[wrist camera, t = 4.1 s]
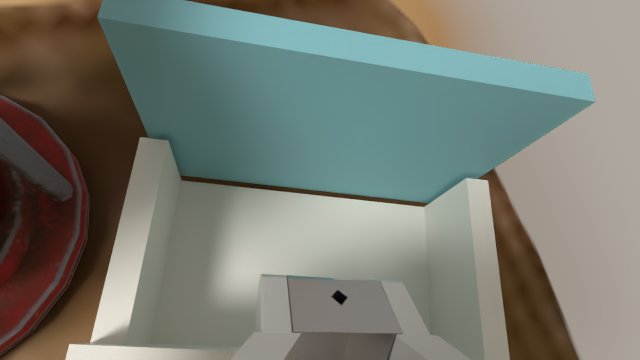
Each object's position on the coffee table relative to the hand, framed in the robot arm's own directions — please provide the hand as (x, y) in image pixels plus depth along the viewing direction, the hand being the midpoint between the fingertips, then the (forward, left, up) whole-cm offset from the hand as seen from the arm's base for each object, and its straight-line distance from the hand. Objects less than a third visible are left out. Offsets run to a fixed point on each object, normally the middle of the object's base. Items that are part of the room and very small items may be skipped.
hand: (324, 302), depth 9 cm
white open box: (+3, -2, -15) cm, 16 cm away
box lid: (+8, -2, -13) cm, 15 cm away
